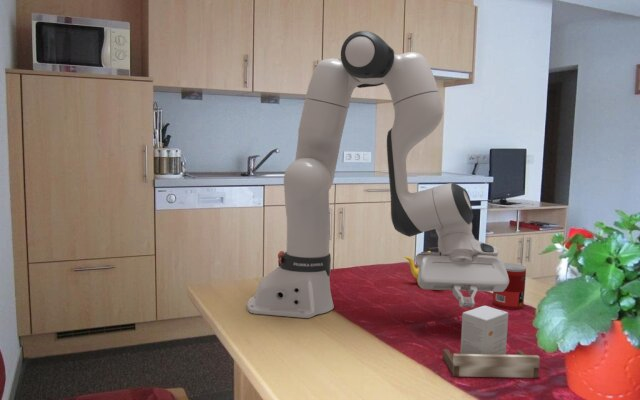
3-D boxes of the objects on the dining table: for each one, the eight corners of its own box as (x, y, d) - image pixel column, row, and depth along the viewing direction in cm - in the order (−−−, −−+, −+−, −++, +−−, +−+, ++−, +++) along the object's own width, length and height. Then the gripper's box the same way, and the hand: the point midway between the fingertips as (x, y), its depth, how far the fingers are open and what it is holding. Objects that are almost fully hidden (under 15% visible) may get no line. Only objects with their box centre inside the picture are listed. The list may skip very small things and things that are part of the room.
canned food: (525, 311, 137) (528, 270, 136) (494, 308, 139) (496, 268, 138) (520, 302, 145) (523, 263, 144) (490, 300, 146) (493, 261, 145)
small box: (481, 353, 108) (484, 304, 107) (505, 362, 104) (509, 311, 103) (458, 363, 103) (461, 311, 102) (483, 373, 99) (486, 319, 98)
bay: (453, 376, 97) (454, 355, 97) (443, 358, 105) (444, 339, 105) (538, 377, 97) (539, 357, 97) (521, 360, 105) (522, 341, 105)
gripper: (417, 244, 121) (423, 297, 112) (504, 247, 121) (517, 300, 112) (412, 258, 126) (417, 311, 117) (496, 261, 126) (508, 314, 117)
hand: (467, 306), depth 115 cm, fingers closed
